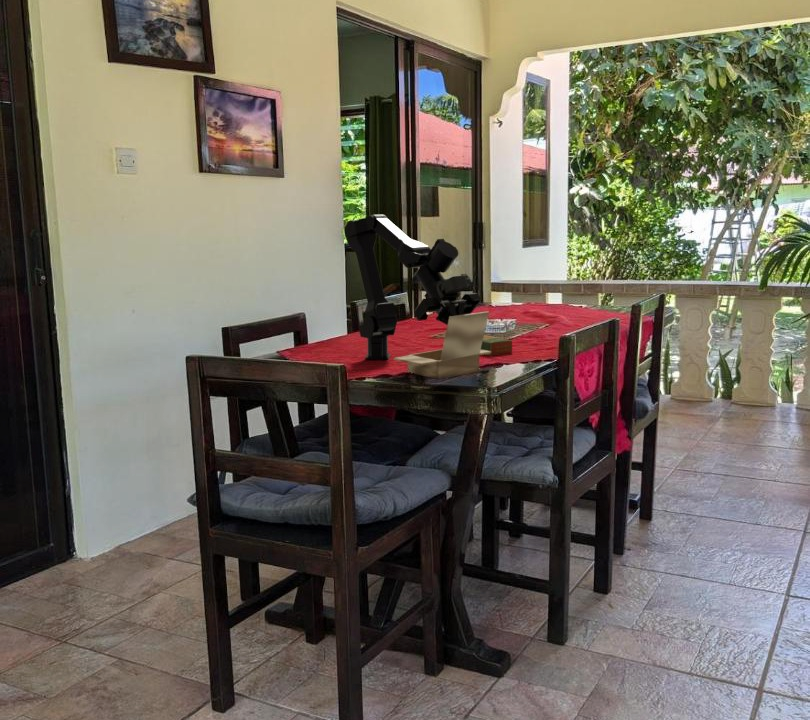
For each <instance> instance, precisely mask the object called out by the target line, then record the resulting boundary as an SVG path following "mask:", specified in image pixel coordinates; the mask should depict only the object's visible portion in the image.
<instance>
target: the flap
mask: <svg viewBox="0 0 810 720" xmlns="http://www.w3.org/2000/svg"><path fill="white" fill-rule="evenodd" d="M489 315H490V311H481V312H472V313H470V314H465V315H457V316H450V317H449V321H448V325H446V331H445V335H444V339H443V344H442V345H443V346H442V348H441V349H442V353H441V358H440V360H441V361H443V360H448V359H454V358H460V357H465V356H471V355H476V354H480V350H481V345H482V341H483V337H484V335H485V332H486V328H487V323H488V320H489Z"/></svg>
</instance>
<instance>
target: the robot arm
mask: <svg viewBox="0 0 810 720" xmlns="http://www.w3.org/2000/svg"><path fill="white" fill-rule="evenodd" d="M343 229H344V230H343V231H344V235H345V236H344V237H345V239H346V242H347V244H348V246H349V248H351V250H353V251H354V253H355V255H356V258H357V262H358V267H359V272H360V275H361V279H362V284H363V289H364V293H365V296H366V301H367V304H366V306H365V309H364V322H363V324H362V325H361V326H360V327H359V329H358V331H359V335H360V338H366V339H367V354H366V355H365V356H364V357H365V358H364V359H365V360H389V358H390V356H391V353H389V349H388V347H389V346H388V339H389V338H388V336H395V332H396V327H397V324H398V318H397V317H398V314H397V311H396V304H395V303H394V302H393V301H392V302H389V301H388V300H387V298H386V297H385V292H384V288H383V284H382V279H381V276H380V271H379V266H378V263H377V262H378V261H377V258H376V253H375V251H374V247H375V244H376V242H377V235H378V236H379V237H380V238H382V240H384V241H385V242H386V243H387V244H388V245H389V246H390V247H392V248H393V249H394V250H395V252H396V253H397V258H398V259H399V261H400V262H401V263H402V264H403V266H404V267H405V268H406V269H413V268H414V269H417V268H418V269H417V271H414V272H413V277H412V278H411V279H412V281H411V282H412V284H415V283H420V285H421V287H422V288H423V289H424V291H425V294H424V297H425V298H422V300H421V301H420V302H419V303H418V305H417V307H415V309H414V316H415V317H416V320H417V321H420V322H421V321H427V319H428V318H429V314H428V313H436V315H437V316H436V318H435V320H436V322H441V323H443V324H445V325H446V326H447V325H448V321H449V317H450V316H457V315H465V314H472V313H474V310H475V309H476V308H477V307H478V306H479V304H480V303H481V302H482V298H481V296H480V295H479V293H478V292H472V293H465V294H464V295H463V296H462V297H461V298H460V299H457V298H459V297H460V295H461V293H460V292H462V291H463V290H466V289H468V288H469V286H471V284H472V280H471V278H470V277H469V275H468V274H467V273H461V274H460V275H455V276H450V277H448V278H447V279H445V278H444V276H443V274H442V273H446V272H447V271H448V270H449V269H450V267H451V266H452V264H453V263H454V262H455V260H456V259H457V258H458V256H459V250H458V248H457V247H456V246H454V245H453V244H452V243H449V242H447V241H446V240H445V239H444V238H437V239H436V241H435V242H434V244H433V246H432V248H431V247H430V246H429V245H427V244H425V243H423V242H422V241H419V240H415V239H414V238H413V239H412V238H410V237H409V236H408V235H407V234H406V233H405V232H403V231H402V230H401V229H400V228H399V227H398V226H397V225H395V224H394V223H393V222H392V221H391V220H390V219H389V218H388V216H386V215H385V214H379V213H378V214H370V215H368V216H366V217H364V218H360V219H356V220H348V222H347V223H346V225H345V226H344V228H343Z"/></svg>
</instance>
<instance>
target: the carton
mask: <svg viewBox="0 0 810 720" xmlns="http://www.w3.org/2000/svg"><path fill="white" fill-rule="evenodd" d="M481 350H487V351H491V353H490V354H485V356H488V355H489V357H494V356H499V354H500V355H505V353H507V354H512V353H513V341H512V339H506V338H502V337H497V336H493V335H487V334H484V337H483V341H482V345H481ZM511 352H512V353H511ZM493 355H494V356H493Z"/></svg>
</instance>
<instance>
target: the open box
mask: <svg viewBox="0 0 810 720" xmlns="http://www.w3.org/2000/svg"><path fill="white" fill-rule="evenodd" d="M441 353H442V348H440V349H435V350H430V351H429V350H428V351H423V352H418V353H417V352H416V353H411V354H407V355H403V356H397V357H393V361H398V362H402V363H407V366H406V367H407V373H409V372H411V373H410V374H413V373H414V374H413V375H419V376H423V377H428V378H432V379H436V380H441V379H446V378H452V377H457V376H462V375H467V374H472V373H477V372H480V356H483V355H484V354H490V353H491V351H487V350H480V354H476V355H471V356H465V357H460V358H454V359H448V360H443V361H441V360H440V358H441Z"/></svg>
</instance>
